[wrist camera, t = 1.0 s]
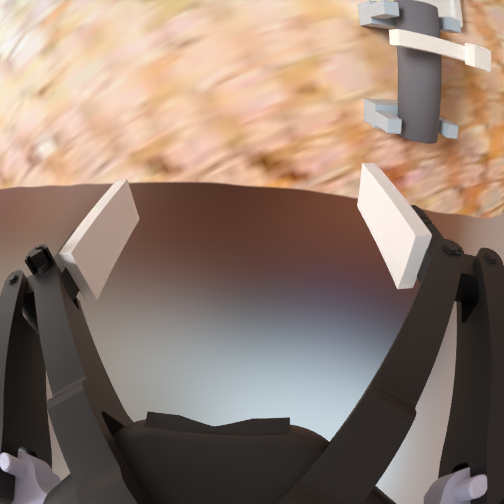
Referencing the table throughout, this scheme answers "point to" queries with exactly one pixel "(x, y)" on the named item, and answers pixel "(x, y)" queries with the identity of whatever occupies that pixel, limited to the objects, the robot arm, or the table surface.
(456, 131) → the cradle
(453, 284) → the robot arm
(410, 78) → the gray cylinder
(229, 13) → the table surface
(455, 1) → the tray
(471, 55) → the white l-shaped hook
